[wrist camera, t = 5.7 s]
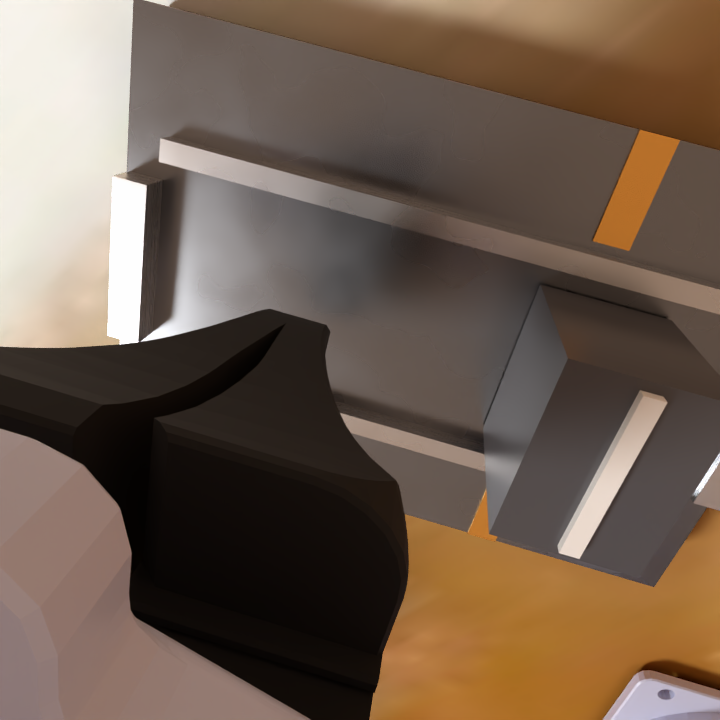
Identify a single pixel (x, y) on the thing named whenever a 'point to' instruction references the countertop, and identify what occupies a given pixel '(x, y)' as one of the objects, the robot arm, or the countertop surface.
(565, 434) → the fader tab
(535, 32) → the countertop surface
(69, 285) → the countertop surface
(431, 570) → the countertop surface
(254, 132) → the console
